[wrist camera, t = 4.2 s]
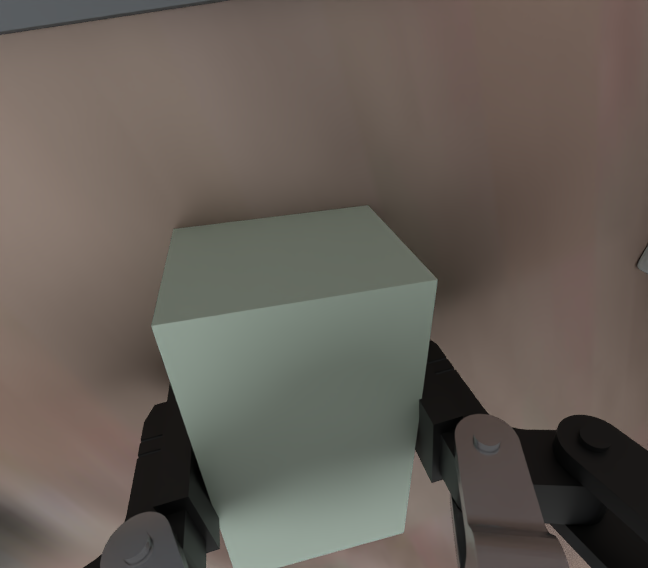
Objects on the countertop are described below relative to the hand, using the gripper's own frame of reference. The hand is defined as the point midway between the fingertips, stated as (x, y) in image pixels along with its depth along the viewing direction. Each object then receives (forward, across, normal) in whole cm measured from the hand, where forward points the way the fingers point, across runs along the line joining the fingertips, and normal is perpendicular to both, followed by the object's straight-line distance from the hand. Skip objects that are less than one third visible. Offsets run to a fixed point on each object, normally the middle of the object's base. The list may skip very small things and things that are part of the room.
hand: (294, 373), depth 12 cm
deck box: (+1, 0, 0) cm, 1 cm away
